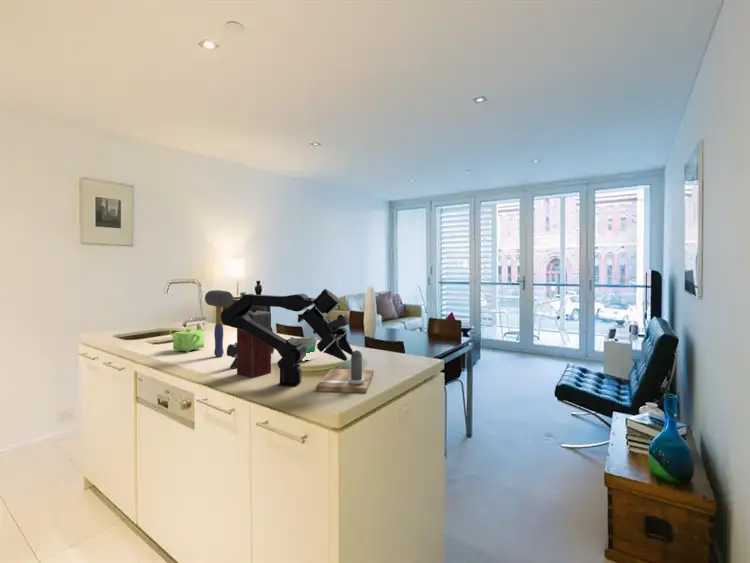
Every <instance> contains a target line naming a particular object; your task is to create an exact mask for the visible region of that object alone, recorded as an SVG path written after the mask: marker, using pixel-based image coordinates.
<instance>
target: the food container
mask: <svg viewBox="0 0 750 563" xmlns="http://www.w3.org/2000/svg"><path fill="white" fill-rule="evenodd" d="M290 338H292V336H290ZM294 338H295V339H296V340H297V341H299V342H303V343H302V344H303V345H304V346H305V347H306V353H310V352H314V351H315V352H316V348H317V343H318V337H317V336H314V337H300V338H299V337H298V338H297V337H294Z"/></svg>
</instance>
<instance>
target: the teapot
mask: <svg viewBox="0 0 750 563" xmlns="http://www.w3.org/2000/svg"><path fill="white" fill-rule="evenodd" d="M206 330H207V328H203V329H201V330H197V329H196V330H195V329H192V328H186V329H185V330H183V331H176V332H173V333H170V334H169V335H170V336H172V338H173V339H172V349H173V350H175V351H176V350H178V352H185V353H191V351H192V350H194V351H200V349H202V348H205V331H206Z"/></svg>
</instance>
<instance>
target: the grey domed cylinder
mask: <svg viewBox="0 0 750 563" xmlns="http://www.w3.org/2000/svg"><path fill="white" fill-rule="evenodd" d="M350 358H351V360H350V361H351V363H350V365H351V366H350V368H351V378H349V383H350V384H354V385H359V384H363V383H364V378H363V377H362V370H363V354H362V352H361V351H360V350H358V349H357V350H353V353H352V355H351V356H350Z"/></svg>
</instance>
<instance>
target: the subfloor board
mask: <svg viewBox="0 0 750 563" xmlns="http://www.w3.org/2000/svg"><path fill="white" fill-rule="evenodd" d="M374 372H375V371H374V369H362V377H363V378H364V383H363V384H359V385H354V384H350V383H349V378H351V369H347V368H346V369H345V368H330V369H329V371H327V373H326V374H325V375H324V377H322V379H321V380H320V381H319V382H318V383H317V385H316V388H315V391H316V392H339V393H340V392H341V393H360V394H361V393H362V394H363V393H364V394H365V393H366V394H367V392H368V390H369V388H368V387H370V384H371V382H372V380H371V379H373V377H374V375H373V374H375V373H374ZM372 376H373V377H372Z"/></svg>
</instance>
